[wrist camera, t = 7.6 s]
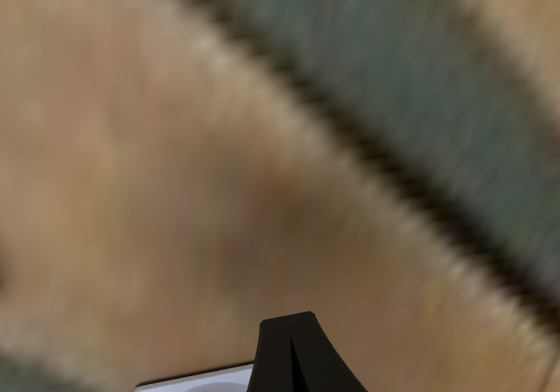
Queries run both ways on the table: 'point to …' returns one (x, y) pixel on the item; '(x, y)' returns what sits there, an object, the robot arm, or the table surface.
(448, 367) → the table surface
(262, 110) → the table surface
